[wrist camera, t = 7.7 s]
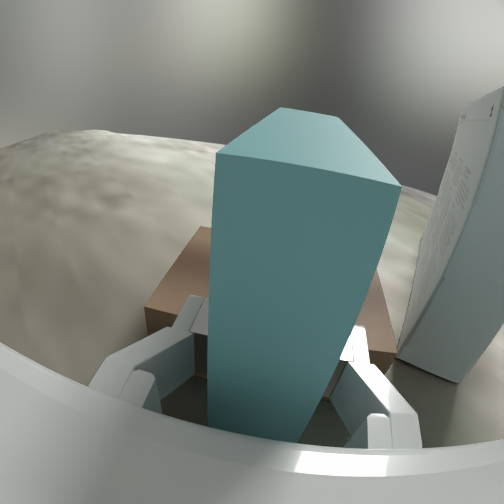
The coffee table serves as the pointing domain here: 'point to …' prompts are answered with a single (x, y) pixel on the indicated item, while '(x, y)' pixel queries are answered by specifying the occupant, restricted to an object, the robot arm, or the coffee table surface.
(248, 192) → the teal rectangular block
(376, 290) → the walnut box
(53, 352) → the coffee table surface
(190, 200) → the coffee table surface
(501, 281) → the skincare box
